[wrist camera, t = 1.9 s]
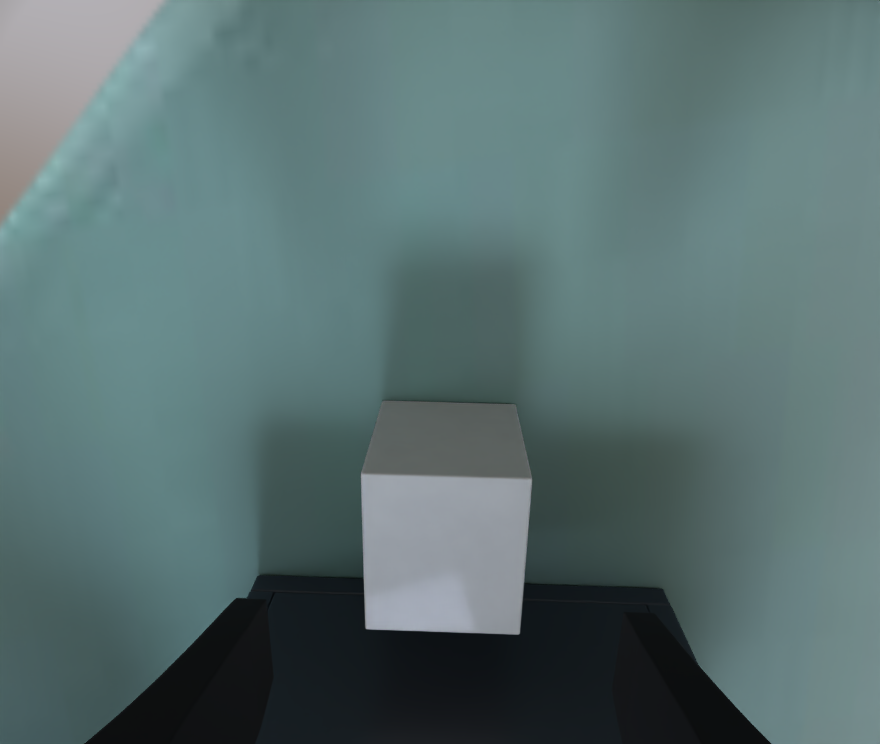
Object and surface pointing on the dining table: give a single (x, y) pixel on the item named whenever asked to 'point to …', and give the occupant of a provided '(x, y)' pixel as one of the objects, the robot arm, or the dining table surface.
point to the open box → (446, 669)
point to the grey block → (445, 518)
